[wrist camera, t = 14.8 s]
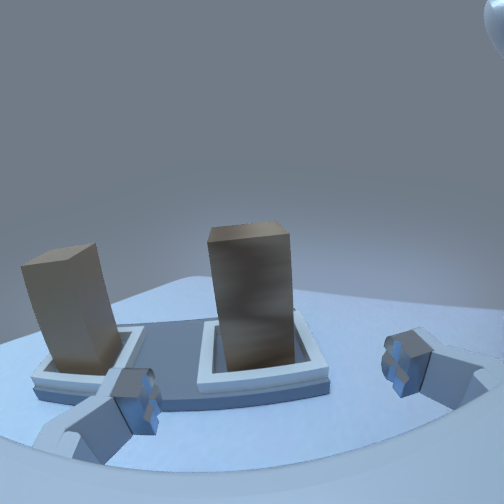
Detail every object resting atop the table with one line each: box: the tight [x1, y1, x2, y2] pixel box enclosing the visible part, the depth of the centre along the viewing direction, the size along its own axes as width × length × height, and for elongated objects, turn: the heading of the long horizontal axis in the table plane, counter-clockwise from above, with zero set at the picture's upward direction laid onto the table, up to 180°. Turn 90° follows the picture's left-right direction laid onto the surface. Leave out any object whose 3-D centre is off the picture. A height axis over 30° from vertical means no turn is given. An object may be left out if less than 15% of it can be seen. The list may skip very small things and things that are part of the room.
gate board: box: [21, 243, 330, 411], centre depth 22 cm, size 24×12×11 cm, turn 95°
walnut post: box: [207, 221, 295, 372], centre depth 21 cm, size 5×5×10 cm
